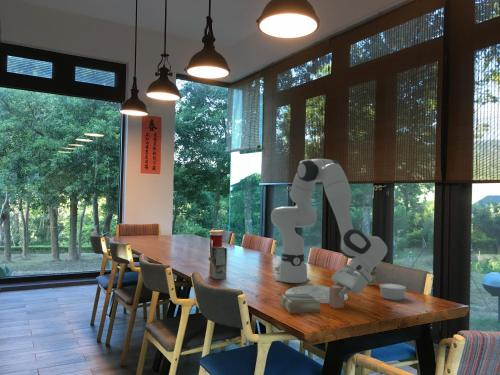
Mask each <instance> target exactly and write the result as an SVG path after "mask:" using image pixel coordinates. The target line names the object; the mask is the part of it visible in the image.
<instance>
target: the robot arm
mask: <svg viewBox="0 0 500 375" xmlns="http://www.w3.org/2000/svg"><path fill="white" fill-rule="evenodd" d="M347 177H348V176H347V175H346V173H345V172H344V170H343V167H342V166H341V164H340V163H339V161H338V160H334V159H328V158H327V159H326V158H312V159H308V158H307V159H303V160H300V161H299V163H298V165H297V169H296V173H295V176H294V178H293V182H292V185H291V188H290V193H289V197H290V199H291V201H292V202H293V203H295V206H279V207H275V208H273V210H272V211H271V214H270V220H271V223H272V225H273V226H275V227H276V228H277V230H278V231H279V233H280V235H281V239H282V253H281V256H280V257H281V258H280V259H281V260H280V262H279V263H278V265H277V266H275V267H274V270H275V273H273V274H272V276H273V279H274V281H276V282H283V283H288V284H289V283H290V284H302V283H305V282H307V281H310V277H308V267H307V264H306V263H305V256H306V255H305V251H304V250H305V240H304V238H303V237H302V235H300V234H298V233H297V232H296V228H307V227H308V228H309V227H312V226H314V225H315V224H316V223H317V219H318V215H317V212H316V210H315V209H314V208H313V207H312V203H311V202H312V197H313V194H314V193H313V192H314V190H315V186H316V183H322V186H323V189H324V193H325V196H326V197H327V201H328V203H329V204H330V207H331V209H332V211H333V214H334V216H335V220H336V223H337V224H336V225H337V226H338V231H339V235H340V243H339V250H340V252H341V254H342V256H344V257H345V258H348V259H351V260H350V261H349V263H347V265H346V266H341V267H340V268H339V269H338V270H337V271H335V272H334V273H333V274H332V276H331V278H330V279H331V280H332V281H333V283H334V284H333V286H334V285H340V286H342V287H344V288H343V290H341V291H339V292H338V293H337V295H338V296H339V297H340V298H341V297H342V296H343V295H345V294H346V295H347V294H348V293H350V292H352V293H353V294H355V295H358V294H360V293H361V292H362V291H363V290H364V289H365V288H366V286H368V285H367V284H368V282H371V281H372V280H373V278H372V277H371V275H370V273H371V271H372V269H373V268H374V267H375V266H376V267H377V266H378V265H379V264H380V263H381V262H382V261H383V260H384V258H385V257H386V255H387V253H388V245H387V244H386V243H385V240H383V239H382V238H381V237H379V236H375V235H369V234H366V233H364V232H362V231H361V230H360V229H356V228H354V227H353V226H354V225H353V223H352V218H351V215H350V214H351V212H350V210H351V202H352V191H351V186H350V182H349V180H348V178H347Z"/></svg>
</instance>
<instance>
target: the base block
mask: <svg viewBox="0 0 500 375" xmlns="http://www.w3.org/2000/svg"><path fill="white" fill-rule="evenodd" d="M280 305H281V306H282V307H283V308H284V309H285V310H286V311H287V312H288V313H290V314H291V313H292V314H293V313H294V314H298V313H317V312H320V305H321V303H320V301H319V300H317V299H316V298H314V297H313V296H311V295H310V294H285V293H284V294H280Z"/></svg>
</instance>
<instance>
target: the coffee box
mask: <svg viewBox="0 0 500 375" xmlns="http://www.w3.org/2000/svg"><path fill="white" fill-rule="evenodd" d="M209 251H210V254H209V255H210V257H209V277H210V278H212V279H214V280H221V279H222V280H223V279H225V280H226V279H227V261H228V260H227V259H228V258H227V257H228V256H227V255H228V248H226V247H224V246H219V245H218V246H216V245H215V246H210V250H209Z"/></svg>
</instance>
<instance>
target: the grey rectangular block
mask: <svg viewBox="0 0 500 375" xmlns="http://www.w3.org/2000/svg"><path fill="white" fill-rule="evenodd" d="M329 288H330V293H329V303H328V304H329V306H330V307H331V308H333V309H342V308H343V309H344V307H345V301H344V295H343V296H342V297H341V298H340V297H339V296H338V295H337V293H338V292H339V291H341V290H343V288H344V287H342V286H340V285H334V284H333V285H329Z"/></svg>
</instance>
